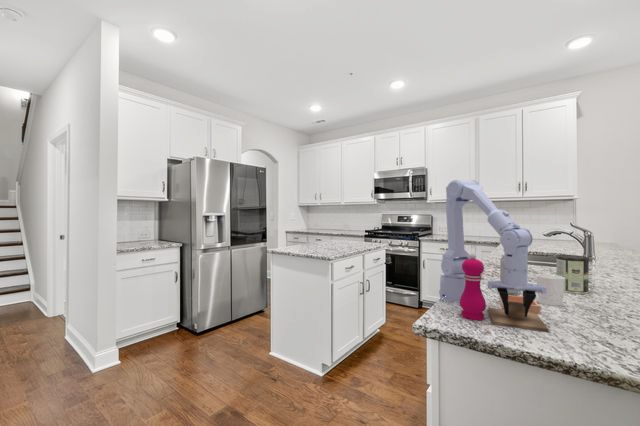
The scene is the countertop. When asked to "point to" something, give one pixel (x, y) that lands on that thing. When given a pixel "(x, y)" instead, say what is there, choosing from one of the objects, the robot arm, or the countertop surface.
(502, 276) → the energy drink can
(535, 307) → the dish
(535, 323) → the lid
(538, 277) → the white cup
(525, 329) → the mat
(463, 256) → the robot arm
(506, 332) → the countertop surface
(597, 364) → the countertop surface
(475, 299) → the pepper mill
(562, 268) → the coffee can
